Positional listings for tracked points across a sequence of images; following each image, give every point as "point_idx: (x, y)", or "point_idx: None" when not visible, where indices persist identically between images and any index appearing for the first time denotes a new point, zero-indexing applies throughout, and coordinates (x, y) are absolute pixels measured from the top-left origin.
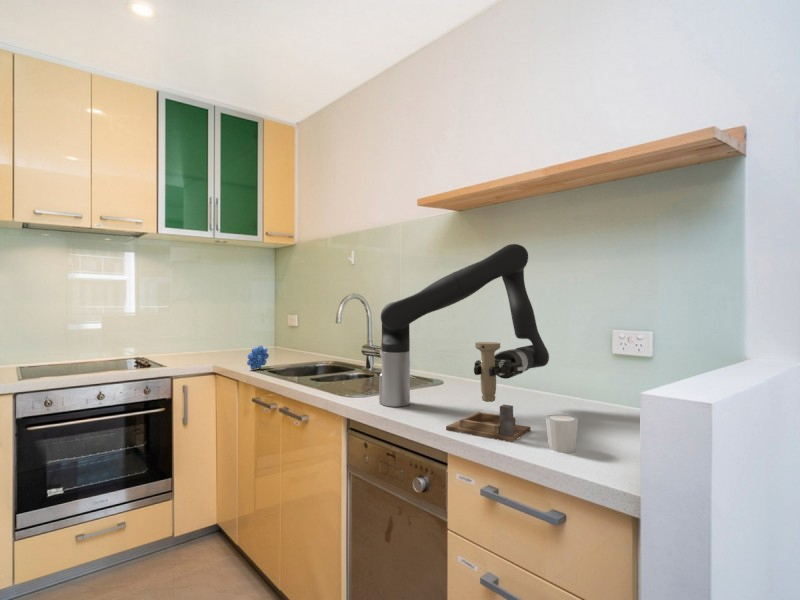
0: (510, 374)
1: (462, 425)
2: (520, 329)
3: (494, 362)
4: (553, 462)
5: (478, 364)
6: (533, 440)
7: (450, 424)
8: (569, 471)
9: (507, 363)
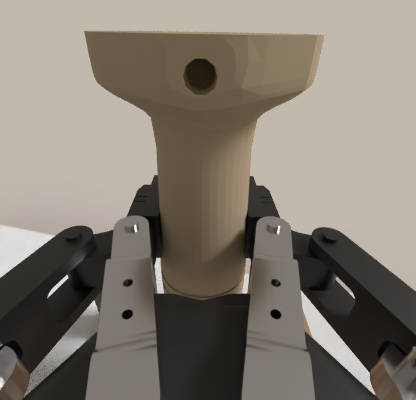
0: (67, 288)
1: None
2: None
3: (158, 186)
4: (26, 252)
5: (311, 241)
6: (49, 362)
7: (306, 326)
8: (8, 234)
9: (73, 371)
